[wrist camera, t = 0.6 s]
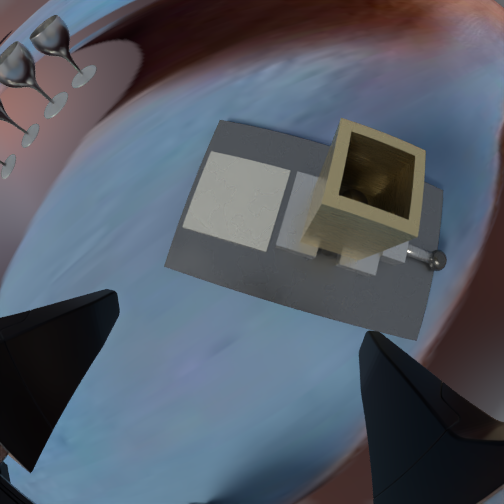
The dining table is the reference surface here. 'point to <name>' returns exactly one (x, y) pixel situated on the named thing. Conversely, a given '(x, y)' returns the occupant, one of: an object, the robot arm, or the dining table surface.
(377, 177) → the sleeve
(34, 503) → the robot arm
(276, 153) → the grey base plate
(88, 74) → the goblet set
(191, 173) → the dining table surface
